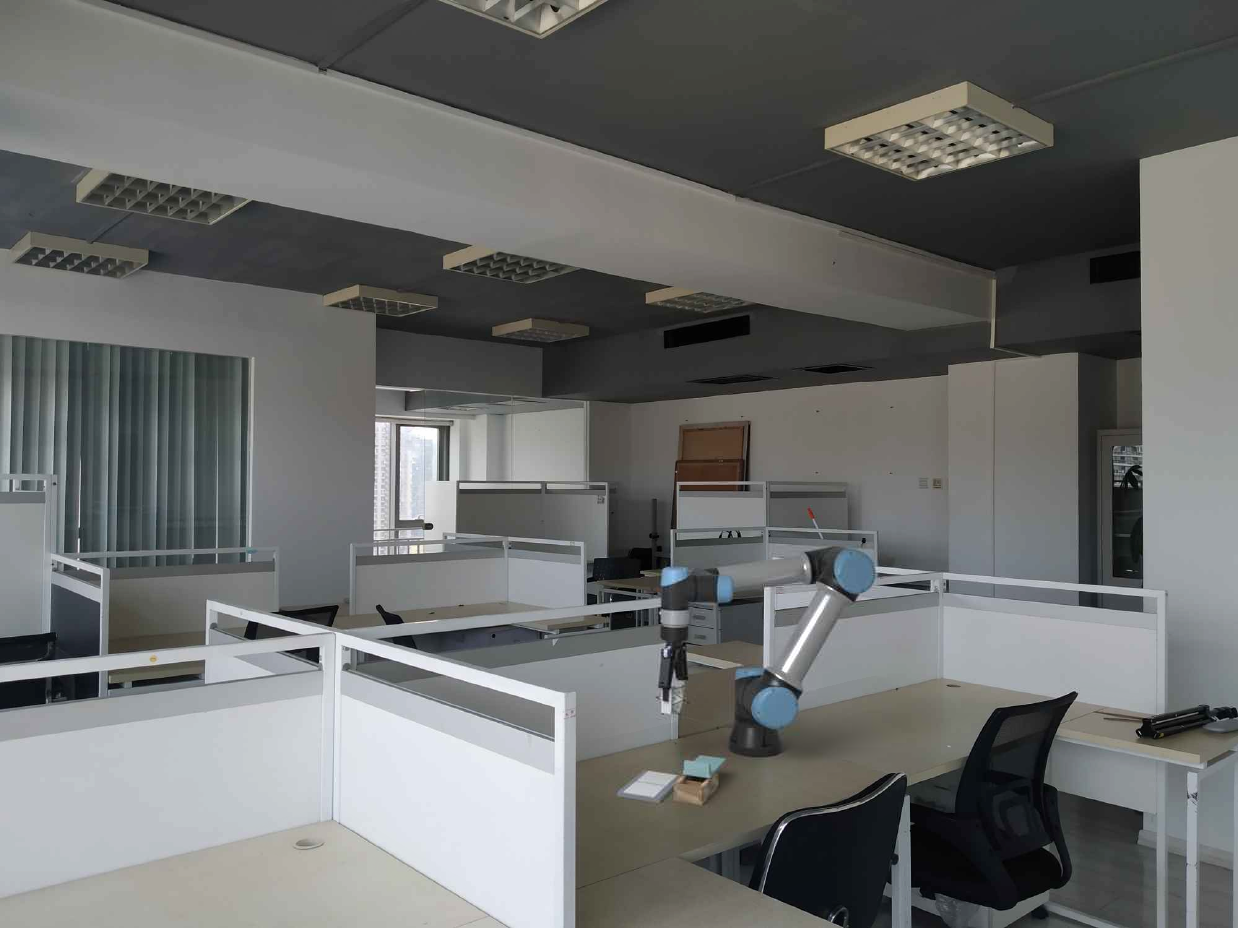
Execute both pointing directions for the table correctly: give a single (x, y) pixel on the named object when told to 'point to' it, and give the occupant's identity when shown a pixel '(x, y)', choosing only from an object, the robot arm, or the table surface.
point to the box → (695, 788)
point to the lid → (703, 766)
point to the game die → (676, 700)
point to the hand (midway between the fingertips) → (673, 708)
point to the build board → (649, 786)
